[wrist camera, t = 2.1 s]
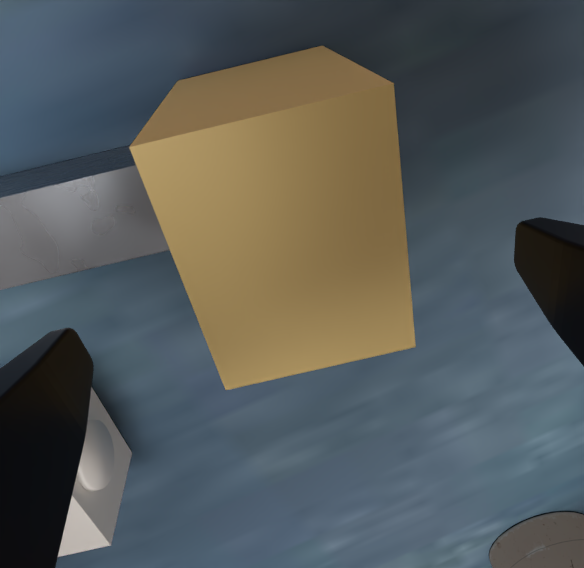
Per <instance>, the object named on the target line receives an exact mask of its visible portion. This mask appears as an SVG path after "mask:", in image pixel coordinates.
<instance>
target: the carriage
mask: <svg viewBox="0 0 584 568" xmlns="http://www.w3.org/2000/svg"><path fill="white" fill-rule="evenodd" d="M129 148H130V151H131V153H132V156H133V158H134V161H135V163H136V166H137V168H138V171H139V173H140V176H141V178H142V181H143V183H144V186H145V188H146V191H147V194H148V196H149V199H150V201H151V204H152V206H153V209H154V211H155V214H156V216H157V219H158V221H159V224H160V226H161V229H162V231H163V234H164V236H165V239H166V241H167V244H168V246H169V249H170V251H171V254H172V256H173V259H174V261H175V264H176V266H177V269H178V271H179V274H180V276H181V279H182V282H183V284H184V287H185V289H186V292H187V294H188V297H189V299H190V302H191V304H192V307H193V309H194V312H195V314H196V317H197V319H198V322H199V324H200V327H201V329H202V332H203V334H204V337H205V339H206V342H207V344H208V347H209V349H210V352H211V354H212V357H213V359H214V362H215V364H216V367H217V369H218V372H219V375H220V377H221V380H222V382H223V385H224V387H225V390H229V389H234V388H238V387H242V386H247V385H251V384H255V383H260V382H264V381H269V380H273V379H277V378H282V377H286V376H291V375H295V374H299V373H304V372H308V371H312V370H317V369H321V368H326V367H330V366H334V365H339V364H343V363H348V362H352V361H356V360H361V359H365V358H369V357H374V356H378V355H383V354H387V353H391V352H396V351H400V350H405V349H409V348H413V347H416V345H415V333H414V321H413V309H412V297H411V285H410V273H409V261H408V249H407V237H406V225H405V213H404V201H403V189H402V177H401V165H400V153H399V141H398V129H397V117H396V105H395V93H394V83H392V82H390V81H388V80H386V79H385V78H383V77H381V76H379V75H377V74H375V73H373V72H371V71H369V70H368V69H366V68H364V67H362V66H360V65H358V64H356V63H354V62H352V61H351V60H349V59H347V58H345V57H343V56H341V55H339V54H337V53H336V52H334V51H332V50H330V49H328V48H326V47H324V46H318V47H314V48H310V49H306V50H302V51H298V52H294V53H290V54H285V55H281V56H277V57H273V58H269V59H265V60H261V61H257V62H253V63H249V64H245V65H240V66H236V67H232V68H228V69H224V70H220V71H216V72H212V73H208V74H204V75H199V76H195V77H191V78H187V79H183V80H179V81H177V82H176V84H175V85H174V86H173V88H172V89H171V91H170V92H169V93H168V95H167V96H166V97H165V99H164V100H163V101H162V103H161V104H160V106H159V107H158V108H157V110H156V111H155V112H154V114H153V115H152V116H151V118H150V119H149V121H148V122H147V123H146V125H145V126H144V127H143V129H142V130H141V132H140V133H139V134H138V136H137V137H136V138H135V140H134V141H133V142H132V144H131V145H130V147H129Z"/></svg>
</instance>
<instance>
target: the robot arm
mask: <svg viewBox="0 0 584 568" xmlns="http://www.w3.org/2000/svg"><path fill="white" fill-rule="evenodd" d="M514 263H515V267H516V269H517V271H518V273H519V275H520V276H521V278H522V279H523V281H524V283H525V284H526V286H527V287H528V289H529V291H530V292H531V294H532V295H533V297H534V299H535V300H536V302H537V304H538V305H539V307H540V308H541V310H542V312H543V313H544V315H545V316H546V318H547V319H548V321H549V322H550V324H551V325H552V327H553V328H554V330H555V331H556V332H557V334H558V335H559V336H560V337H561V339H562V340H563V341H564V342H565V344H566V345H567V346H568V347H569V349H570V350H571V351H572V352H573V354H574V355H575V356H576V357H577V359H578V360H579V361H580V362H581V364H582V365H583V366H584V225H579V224H574V223H569V222H563V221H558V220H552V219H547V218H541V217H539V218H534V219H530V220H525V221H522V222H520V223H519V224H518V225H517V227H516V233H515V251H514ZM92 378H93V361H92V358H91V356H90V355H89V353H88V351H87V349H86V348H85V346H84V344H83V343H82V341H81V339H80V337H79V336H78V334H77V333H76V331H75V330H74V329H71V328H64V329H60V330H55V331H52V332H49V333H48V334H46V335H45V336H44V337H42V338H41V339H40V340H38V341H37V342H36V343H34V344H33V345H32V346H30V347H29V348H28V349H26V350H25V351H24V352H22V353H21V354H19V355H18V356H17V357H15V358H14V359H13V360H11V361H10V362H9V363H7V364H6V365H5V366H3V367H2V368H1V369H0V568H55V567H56V562H57V558H58V554H59V549H60V545H61V541H62V536H63V532H64V528H65V523H66V519H67V515H68V511H69V506H70V502H71V498H72V493H73V489H74V485H75V480H76V476H77V472H78V468H79V463H80V459H81V455H82V450H83V446H84V441H85V436H86V430H87V423H88V414H89V405H90V396H91V387H92Z"/></svg>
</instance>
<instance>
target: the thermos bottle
mask: <svg viewBox="0 0 584 568" xmlns="http://www.w3.org/2000/svg"><path fill="white" fill-rule="evenodd" d="M489 558H490V562H491V565H492V567H493V568H584V515H583V514H579V513H575V512H555V513H549V514H544V515H540V516H537V517H533V518H531V519H528V520H526V521H523V522H521V523H519V524H517V525H515V526H514V527H512V528H510V529H509V530H507V531H506V532H505V533H503V534H502V535H501V536H500V537H499V538H498V539H497V540H496V541H495V543H494V544H493V546H492V548H491V549H490V554H489Z"/></svg>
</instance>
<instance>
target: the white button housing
mask: <svg viewBox="0 0 584 568" xmlns="http://www.w3.org/2000/svg"><path fill="white" fill-rule="evenodd" d="M131 456H132V452H131V450H130V449H129V447H128V445H127V444H126V442H125V440H124V439H123V437H122V436H121V434H120V432H119V431H118V429H117V427H116V426H115V424H114V423H113V421H112V419H111V418H110V416H109V414H108V413H107V411H106V409H105V408H104V406H103V405H102V403H101V401H100V400H99V398H98V396H97V395H96V393H95V391H94V390H93V388H92V387H91V396H90V405H89V414H88V423H87V430H86V436H85V441H84V446H83V450H82V455H81V459H80V463H79V468H78V472H77V476H76V480H75V485H74V489H73V493H72V498H71V502H70V506H69V511H68V515H67V519H66V523H65V528H64V532H63V536H62V541H61V545H60V549H59V554H58V557H60V556H65V555H69V554H74V553H78V552H83V551H87V550H92V549H96V548H101V547H105V546H110V545H111V543H112V538H113V534H114V530H115V525H116V521H117V517H118V512H119V508H120V504H121V499H122V495H123V491H124V486H125V482H126V478H127V473H128V469H129V465H130V460H131Z"/></svg>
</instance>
